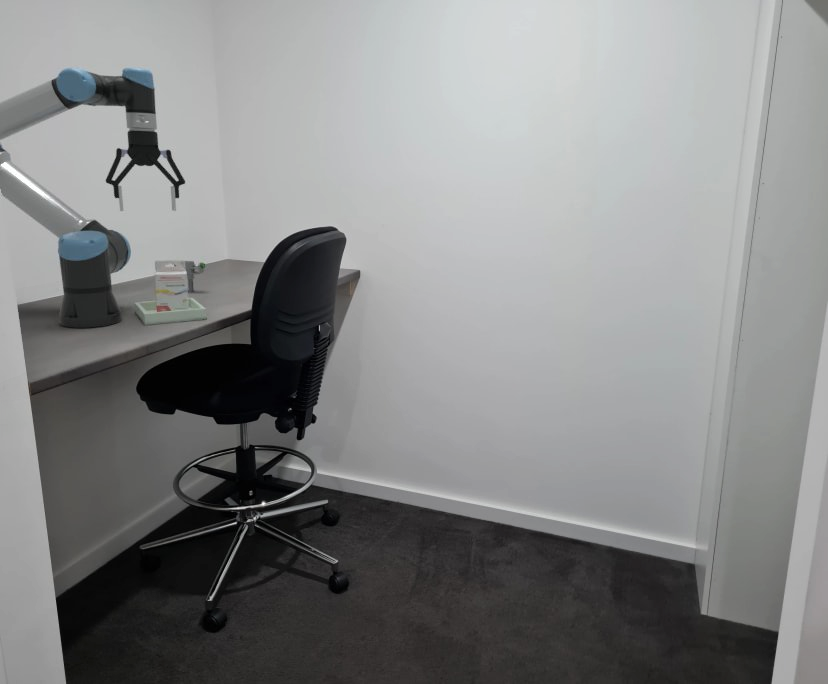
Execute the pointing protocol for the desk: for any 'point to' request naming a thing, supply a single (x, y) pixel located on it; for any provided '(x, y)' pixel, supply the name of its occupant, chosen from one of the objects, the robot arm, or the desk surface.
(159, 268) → the ink cartridge box
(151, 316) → the tray
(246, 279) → the desk surface
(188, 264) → the mechanical component
